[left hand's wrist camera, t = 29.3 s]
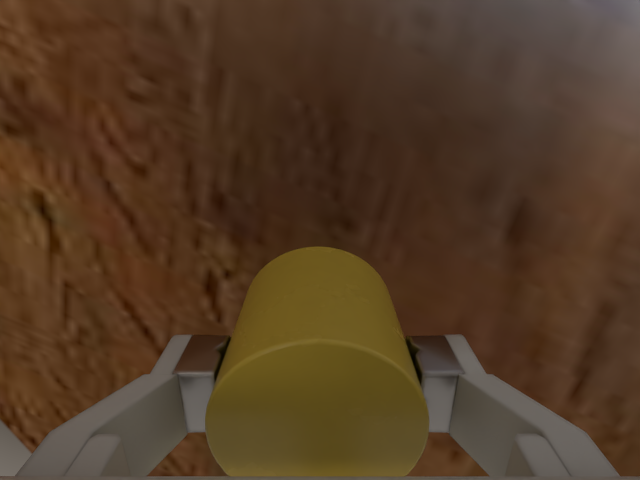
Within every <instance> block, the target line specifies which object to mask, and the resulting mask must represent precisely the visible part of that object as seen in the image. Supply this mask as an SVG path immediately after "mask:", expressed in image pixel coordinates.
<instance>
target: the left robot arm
mask: <svg viewBox="0 0 640 480" xmlns="http://www.w3.org/2000/svg"><path fill="white" fill-rule="evenodd" d="M230 340H231V337H230V336H229V335H175V336H173V337H172V338H171V340H170V342H169V343H168V345H167V346H166V348H165V350H164V351H163V353H162V355H161V356H160V358H159V360H158V361H157V363H156V365H155V366H154V368H153V370H152V371H151V373H150V374H144V375H142V376H141V377H139V378H137V379H136V380H134V381H132V382H131V383H129V384H128V385H126V386H124V387H123V388H121V389H119V390H118V391H116V392H114V393H113V394H111V395H110V396H108V397H106V398H105V399H103V400H101V401H100V402H98V403H96V404H95V405H93V406H92V407H90V408H88V409H87V410H85V411H83V412H82V413H80V414H78V415H77V416H75V417H74V418H72V419H70V420H69V421H67V422H65V423H64V424H62V425H60V426H59V427H57V428H56V429H54V430H52V431H51V432H50V433H49V434H48V435H47V436H46V438H45V439H44V440H43V441H42V443H41V444H40V445H39V446H38V448H37V449H36V450H35V451H34V453H33V454H32V455H31V456H30V458H29V459H28V460H27V461H26V463H25V464H24V465H23V467H22V468H21V469H20V470H19V471H18V473H17V474H16V475H15V476H0V480H640V477H620V476H619V474H618V473H617V472H616V470H615V469H614V468H613V467H612V465H611V464H610V463H609V461H608V460H607V459H606V458H605V456H604V455H603V454H602V452H601V451H600V450H599V449H598V447H597V446H596V445H595V443H594V442H593V441H592V440H591V438H590V437H589V436H588V434H587V433H586V432H584V431H583V430H581V429H580V428H578V427H576V426H575V425H573V424H571V423H570V422H568V421H567V420H565V419H563V418H562V417H560V416H559V415H557V414H555V413H554V412H552V411H550V410H549V409H547V408H546V407H544V406H542V405H541V404H539V403H538V402H536V401H534V400H533V399H531V398H529V397H528V396H526V395H525V394H523V393H521V392H520V391H518V390H517V389H515V388H513V387H512V386H510V385H508V384H507V383H505V382H504V381H502V380H500V379H499V378H497V377H496V376H494V375H492V374H486V373H485V371H484V369H483V368H482V366H481V364H480V363H479V361H478V359H477V358H476V356H475V354H474V353H473V351H472V349H471V348H470V346H469V344H468V343H467V341H466V339H465V338H464V336H462V335H461V334H460V335H442V336H406V339H405V342H406V344H407V347H408V350H409V353H410V356H411V359H412V362H413V365H414V368H415V371H416V374H417V377H418V380H419V382H420V385H421V388H422V391H423V394H424V397H425V400H426V404H427V407H428V411H429V422H430V423H429V432H449V435H450V436H451V437H452V438H453V439H454V440H455V441H456V442H457V443H458V444H459V445H460V446H461V447H462V448H463V449H464V450H465V451H466V452H467V453H468V454H469V455H470V456H471V457H472V458H473V459H474V460H475V461H476V462H477V463H478V464H479V465H480V466H481V467H482V468H483V469H484V470H485V471H486V473H487V474H488V475H489V476H490V477H353V476H216V477H146V476H147V475H148V474H149V473H150V472H151V471H152V470H153V469H154V468H155V467H156V466H157V465H158V464H159V463H160V462H161V461H162V460H163V459H164V458H165V457H166V456H167V455H168V454H169V452H170V451H171V450H172V449H173V448H174V447H175V446H176V445H177V444H178V443H179V442H180V441H181V440H182V439H183V438H184V437H185V436H186V435H187V432H206V431H205V414H206V408H207V404H208V401H209V399H210V396H211V393H212V390H213V387H214V384H215V382H216V379H217V376H218V373H219V370H220V368H221V365H222V362H223V359H224V356H225V354H226V351H227V348H228V345H229V343H230Z"/></svg>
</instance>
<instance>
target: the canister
mask: <svg viewBox="0 0 640 480" xmlns="http://www.w3.org/2000/svg"><path fill="white" fill-rule="evenodd" d="M429 423H430V422H429V411H428V407H427V404H426V400H425V397H424V394H423V391H422V388H421V385H420V382H419V380H418V377H417V374H416V371H415V368H414V365H413V362H412V359H411V356H410V353H409V350H408V347H407V344H406V342H405V339H404V336H403V333H402V330H401V327H400V324H399V321H398V318H397V315H396V312H395V309H394V306H393V304H392V301H391V298H390V295H389V292H388V289H387V287H386V285H385V283H384V281H383V280H382V278H381V277H380V275H379V274H378V273H377V272H376V271H375V269H374V268H372V267H371V266H370V265H369V264H368V263H367V262H365V261H364V260H362V259H361V258H359V257H357V256H355V255H353V254H351V253H349V252H346V251H343V250H340V249H335V248H330V247H306V248H300V249H296V250H293V251H290V252H287V253H285V254H283V255H280V256H279V257H277V258H275V259H274V260H272V261H271V262H269V263H268V264H267V265H266V266H264V268H263V269H262V270H261V271H260V272H259V273H258V274H257V275H256V277H255V278H254V280H253V281H252V283H251V285H250V287H249V289H248V292H247V295H246V298H245V301H244V303H243V306H242V309H241V312H240V315H239V317H238V320H237V323H236V326H235V329H234V331H233V334H232V337H231V340H230V343H229V345H228V348H227V351H226V354H225V356H224V359H223V362H222V365H221V368H220V370H219V373H218V376H217V379H216V382H215V384H214V387H213V390H212V393H211V396H210V399H209V401H208V404H207V408H206V414H205V431H206V436H207V441H208V444H209V447H210V450H211V452H212V454H213V456H214V458H215V459H216V461H217V463H218V464H219V465H220V467H221V468H222V469H223V470H224V472H225V473H226V474H227V475H229V476H353V477H405V476H406V475H407V474H408V473H409V472H410V471H411V470H412V469H413V467H414V466H415V465H416V463H417V462H418V460H419V459H420V457H421V455H422V453H423V451H424V448H425V446H426V442H427V438H428V434H429Z"/></svg>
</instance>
